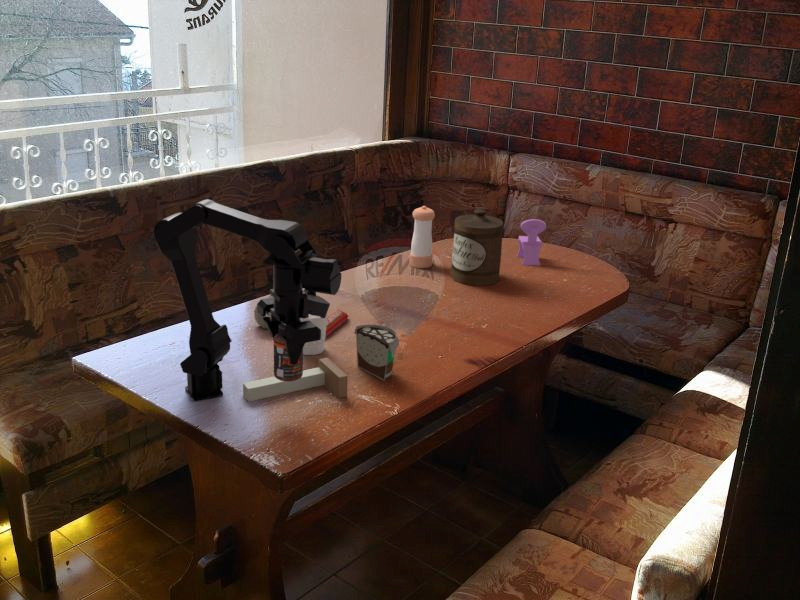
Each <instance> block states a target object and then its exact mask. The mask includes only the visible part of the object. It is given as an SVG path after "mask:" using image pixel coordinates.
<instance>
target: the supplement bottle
mask: <svg viewBox="0 0 800 600" xmlns="http://www.w3.org/2000/svg"><path fill="white" fill-rule="evenodd" d="M287 326H288V325H284V324H283V323H281V324H280V325H279V326H278V332H279V333H278V334H276V335H275V337H274V340H273V377H275V378H277V379H279V380H281V381H295V380H298V379H300V378H301V377H302V375H303V370H304V366H303V365H304V357H303V356H304V354H303V349H302V352H301V355H300V357H299V360H298V363H297V364H294V365H292V363H291V361H290V358H289V356H288V353H287V350H286V347H285V344H284V342H283V339H282V336H285V328H286V327H287Z"/></svg>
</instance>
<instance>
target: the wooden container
mask: <svg viewBox="0 0 800 600" xmlns="http://www.w3.org/2000/svg"><path fill="white" fill-rule="evenodd" d="M454 219H455V220H454V233H453V242H452V243H453V245H452V256H451V269H450V270H451V271H450V277H451V278H452V279H453V280H454V281H456V282H458V283H461V284H464V285H469V286H490V285H493V284H495V283H497V282H498V281H499V279H500V270H501V260H502V245H503V244H502V243H503V233H504V232H503V231H504V221H503V220H502V219H500V218H498V217H496V216H493V215H486V210H485V209H484V208H483V207H477V208H476V209H474V211H473V214H465V215H464V214H463V215H459V216H457V217H456V218H454Z"/></svg>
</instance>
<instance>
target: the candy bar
mask: <svg viewBox="0 0 800 600" xmlns="http://www.w3.org/2000/svg"><path fill="white" fill-rule="evenodd" d="M348 318H349V315H348V313H347V312H345V311H342V310H340V309H337V310H335V311H333V312H332V313H331V314H330V315H329V316H327V324H326V337H325V339H326V338H327V337H328V336H330V335H331V334H332V333H333V332H334V331H336V330H337V329H338V328H339V327H341V326H342V325H343V324H344V323H346V321H347V320H348Z"/></svg>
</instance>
